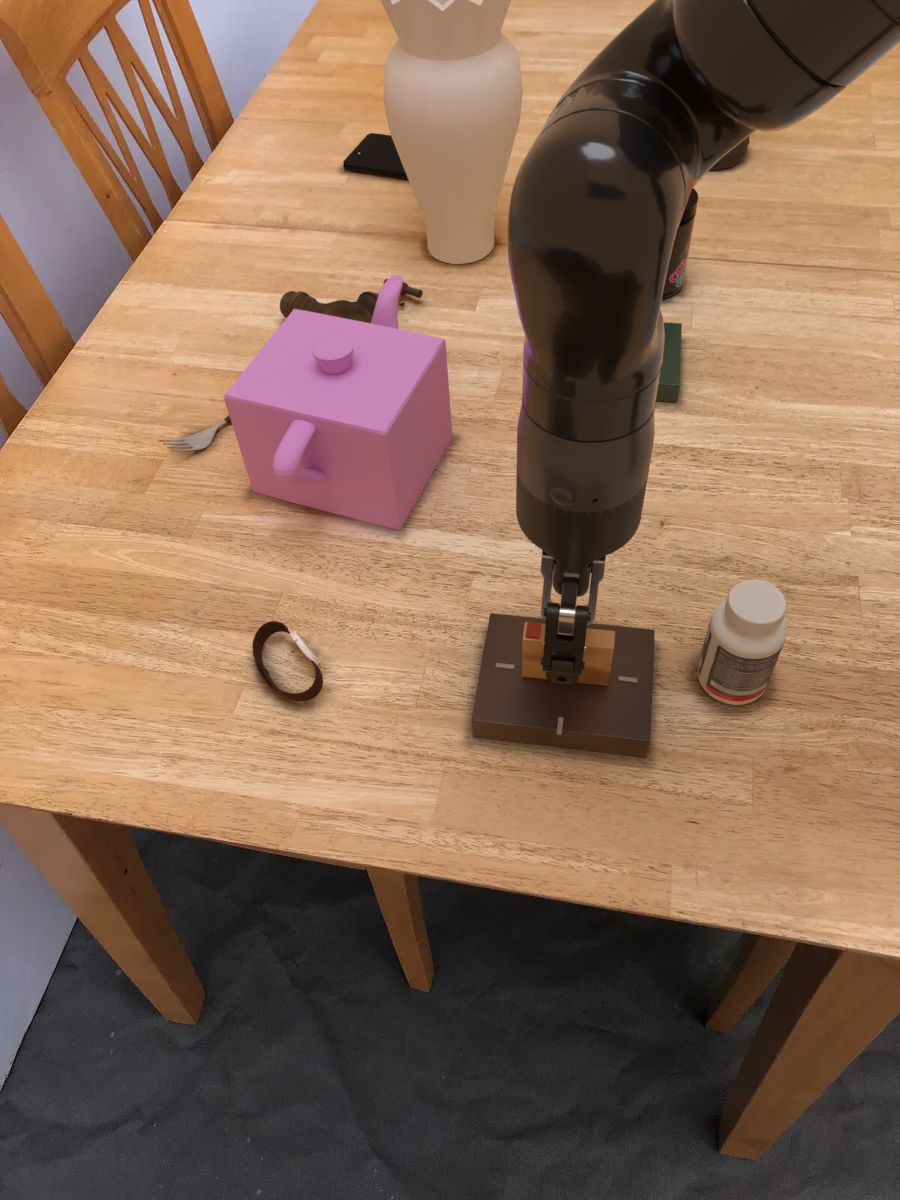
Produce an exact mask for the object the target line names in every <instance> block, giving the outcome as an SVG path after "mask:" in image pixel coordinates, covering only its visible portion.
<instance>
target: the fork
mask: <svg viewBox="0 0 900 1200" xmlns="http://www.w3.org/2000/svg"><path fill="white" fill-rule="evenodd" d="M228 423H231V419H230V416H229V415H227V416H226V417H225V418H224V419H222V420H221V421H220V422H218V423H217V424H215V425H214V426H211V427H209V428H207V429H204V430H202V431H199V432H196V433H194V434H190V435H187V436H184V437H180V438H169V439H158V442H161V443H162V446H167V447H166V449H171V450H170V452H171V453H172V452H175V453H176V452H180V453H181V452H193V451H200V450H204V449H206V448H208V447H209V446H210V445H211V443H212V442H213V440H214V438H215V436H216V433H217V431H218V430H219V429H220V428H221V427H223V426H225V425H227V424H228Z"/></svg>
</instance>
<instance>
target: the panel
mask: <svg viewBox="0 0 900 1200" xmlns="http://www.w3.org/2000/svg"><path fill="white" fill-rule="evenodd" d="M525 622H537V623H541V624H545V622H546V620H544V619H543V618H542V617H541V618H540V617H532V616H522V615H515V614H514V615H513V614H503V613H493V612H490V614H489V617H488V622H487V623H488V624H487V628H486V635H485V640H484V641H485V642H484V647H483V653H482V657H481V663H480V670H479V676H478V680H477V686H476V693H475V698H474V702H473V703H474V704H473V709H472V714H471V731H472V732H471V734H472V738H480V739H488V740H497V741H504V742H505V741H506V742H513V743H522V744H528V745H529V744H531V745H539V746H548V747H555V748H562V749H563V748H564V749H570V750H571V749H573V750H581V751H589V752H596V753H604V754H614V755H621V756H631V757H639V758H647V756H648V752H649V748H650V743H651V736H652V735H651V734H652V731H651V730H652V710H653V709H652V708H653V706H652V705H653V686H654V685H653V683H654V682H653V681H654V661H655V660H654V659H655V634H656V631H655V630H656V629H651V628H643V627H642V628H641V627H632V626H623V625H613V624H603V623H602V624H601V623H595V622H593V623H592V624H590V625H588V626H587V628H590V629H600V630H609V631H615V641H614V652H613V658H612V665H611V672H610V679H609V685H608V686H602V685H593V684H583V683H572V684H563V683H554V682H551V680H547V679H538V678H529V677H522V641H523V632H524V625H525ZM574 625H575V624H574Z"/></svg>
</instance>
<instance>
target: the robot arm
mask: <svg viewBox="0 0 900 1200" xmlns="http://www.w3.org/2000/svg"><path fill="white" fill-rule="evenodd" d="M898 44H900V0H653V1H652V2H651V3H650V4H649V5H648V6H647V7H646V8H645V9H644V10H643V11H642V12H640V13H639V14H638V15H637V16H636V17H635V18H634V19H633V20H632V21H631V22H629V24H627V25H626V26H625V27H624V28H623V29H622V30H621V31H620V32H619V33H617V35H616V36H615V37H614V38H613V39H612V40H610V41H609V42H608V44H607V45H605V47H604V48H603V49H602V50H601V51H600V52H599V53H598V54H597V55H596V56H595V57H594V58H593V59H592V60H591V61H590V63H589V64H588V65H587V66H586V67H585V68H584V69H583V70H582V71H581V72H580V73H579V74H578V76H577V77H576V79H575V80H574V81H573V82H572V83H571V84H570V85H569V87H568V88H567V89H566V91H565V92H564V93H563V94H562V95H561V97H560V98H559V100H558V101H557V103H556V104H555V106H554V107H553V109H552V110H551V112H550V114H549V116H548V118H547V120H546V121H545V123H544V125H543V126H542V128H541V130H540V131H539V132H538V134H537V136H536V138H535V140H534V141H533V143H532V145H531V147H530V148H529V150H528V152H527V154H526V155H525V157H524V159H523V161H522V162H521V165H520V166H519V169H518V170H517V173H516V176H515V179H514V182H513V185H512V189H511V195H510V200H509V208H508V217H507V235H506V236H507V237H506V238H507V256H508V257H507V258H508V265H509V266H508V267H509V273H510V278H511V283H512V288H513V293H514V297H515V303H516V307H517V313H518V318H519V320H520V324H521V327H522V329H523V330H522V331H523V333H524V338H523V339H524V340H523V347H522V386H521V387H522V389H521V390H522V391H521V393H522V397H521V405H520V406H521V407H520V411H519V416H518V421H517V429H516V484H515V487H516V488H515V489H516V490H515V514H516V519H517V520H516V521H517V523H518V525H519V528H520V530H521V532H522V533H523V535H524V536H525V537H526V538H527V539H528V540H529V541H530V542H531V543H532V544H533V545H534V546H535V547H537V548H539V549H540V550H542V551H541V561H540V574H541V576H542V577H543V581H542V582H543V584H542V594H541V603H540V604H541V606H540V616H541V618H543V619H544V620H546V622H545V638H544V645H543V648H544V654H543V657H541V665H543V670H542V671H546V678H547V679H548V680H551V682H554V683H563V684H572V683H576V682H577V681H578V679H579V675H581V673H582V670H584V667H585V662H583V656H584V652H586V644H585V639H586V630H587V626H588V625H590V624H592V623H595V620H596V615H597V614H596V613H597V604H598V597H599V596H598V594H599V586H600V583H601V582H602V581H603V579H604V577H605V570H606V569H605V568H606V560H607V556H608V555H611V554H613V553H615V552H617V551H618V550H620V549H622V548H623V547H624V546H626V545H627V544H628V543H629V542H630V541H631V540H632V538H633V537H634V536H635V535H636V534H637V531H638V529H639V527H640V524H641V520H642V514H643V508H644V502H645V496H646V490H647V485H648V478H649V472H650V466H651V461H652V455H653V449H654V443H655V433H656V430H655V428H656V426H655V425H656V423H655V422H656V421H655V410H656V402H657V401H656V396H657V389H658V383H659V377H660V371H661V365H662V361H663V352H664V339H665V331H664V316H663V313H662V310H661V309H662V308H661V307H662V302H663V299H662V295H663V290H664V284H665V279H666V275H667V270H668V266H669V261H670V257H671V253H672V249H673V245H674V241H675V237H676V233H677V229H678V227H679V224H680V221H681V218H682V216H683V213H684V210H685V207H686V204H687V202H688V199H689V196H690V193H691V190H692V188H694V187H695V186H696V185H698V183H699V182H700V180H701V179H702V178H703V177H704V176H705V175H706V174H707V173H708V172H710V171H709V170H710V169H711V168H712V166H714V165H715V164H716V163H717V162H718V161H719V160H720V159H721V158H722V157H723V156H725V155H726V154H727V153H728V152H730V151H731V150H732V149H733V148H735V147H736V146H737V145H738V144H740V143H741V142H742V141H743V140H745V139H746V138H747V137H749V138H750V136H751V135H753V134H754V133H755V132H756V131H760V132H779V131H782V130H784V129H788V128H790V127H792V126H794V125H796V124H798V123H800V122H801V121H803V120H804V119H806V118H808V117H809V116H811V115H812V114H813V113H815V112H817V111H818V110H820V109H821V108H823V106H825V105H826V104H827V103H829V102H830V101H832V99H834V98H835V97H836V96H837V95H838V94H840V93H841V92H842V91H843V90H845V89H846V88H847V86H848V85H850V84H852V83H853V82H854V81H856V80H857V79H858V78H859V77H861V75H863V74H864V73H865V72H866V71H867V70H869V69H870V68H871V67H873V66H874V65H875V64H876V63H877V62H878V61H879V60H881V59H882V58H883V57H884V56H885V55H886V54H887V53H889V52H890V51H891V50H892V49H894V47H896V46H897V45H898ZM552 588H553V590H554V591H555V593H556V594H558V595H559V596H561V597H560V602H553V601H552ZM588 592H589V593H588ZM587 593H588V601H587V603H586V604H585V605H582V604H581V605H580V604H577V600H578V598H579V597H580V598H581V597H584V596H585V595H586V594H587ZM574 624H575V625H574Z"/></svg>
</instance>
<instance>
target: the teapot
mask: <svg viewBox="0 0 900 1200" xmlns="http://www.w3.org/2000/svg"><path fill="white" fill-rule="evenodd" d="M387 279H388V280H387V281H386V282H385V283H384V282H383V283H384V285H383V284H382V286H381V288H380V289H379V292H378V294H379V295H378V298H377V302H376V306H375V309H374V313H373V317H372V322H371V323H366V322H361V321H356V320H351V319H346V318H340V317H335V316H330V315H325V314H320V313H315V312H309V311H304V310H299V309H293V311H292V312H291V313H290V315H289V316H288V317H287V318H285V320H284V321H283V322H282V323H281V324H280V326H279V327H278V328H277V329H276V330H275V332H274V333H273V334H272V335H271V336H270V337H269V339H268V340H267V341H266V342H265V344H264V345H263V346H262V347H261V349H260V350H259V351H258V352H257V353H256V355H255V356H254V357H253V359H252V360H251V361H250V363H248V364H247V366H246V367H245V369H244V370H243V371H242V373H241V374H240V375H239V376H238V378H237V379H236V380H235V381H234V382H233V384H232V385H231V386H230V388H228V390H227V391H226V392H225V393H224V395H223V400H224V403H225V406H226V409H227V414H228V416H230V419H231V421H230V423H231V425H232V429H233V432H234V435H235V438H236V441H237V444H238V447H239V451H240V454H241V457H242V460H243V463H244V467H245V470H246V474H247V476H248V479H249V482H250V486H251V488H252V491H253V493H255V494H259V495H263V496H266V497H271V498H274V499H277V500H281V501H285V502H290V503H293V504H297V505H301V506H305V507H308V508H312V509H316V510H319V511H323V512H326V513H331V514H334V515H338V516H342V517H346V518H349V519H353V520H356V521H361V522H365V523H368V524H372V525H376V526H379V527H384V528H388V529H392V530H396V531H401V530H402V528H403V526H404V524H405V523H406V521H407V519H408V517H410V514H411V512H412V510H413V508H414V507H415V505H416V503H417V501H418V499H419V498H420V496H421V494H422V493H423V491H424V489H425V487H426V486H427V484H428V482H429V480H430V479H431V476H432V475H433V473H434V471H435V469H436V468H437V466H438V464H439V462H440V460H441V459H442V457H443V456H444V454H445V452H446V451H447V448H448V447H449V445H450V443H451V441H452V440H453V425H452V412H451V397H450V382H449V371H448V370H449V368H448V355H447V341H446V339H444V338H442V337H438V336H433V335H430V334H425V333H420V332H414V331H410V330H405V329H401V328H399V322H398V321H399V319H398V306H399V299H400V296H401V295H400V292H401V288H402V285H403V282H404V278H403V276H402V275H400V274H395V275H392V276H390V277H389V278H387ZM399 295H400V296H399Z"/></svg>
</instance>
